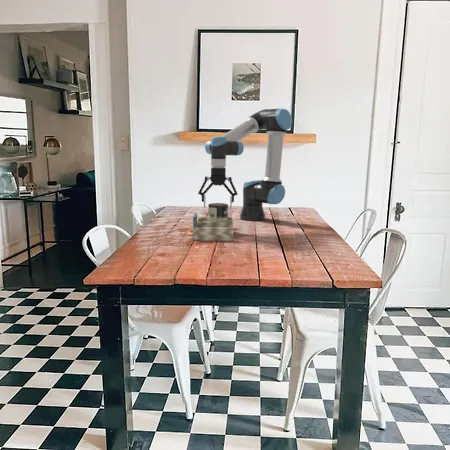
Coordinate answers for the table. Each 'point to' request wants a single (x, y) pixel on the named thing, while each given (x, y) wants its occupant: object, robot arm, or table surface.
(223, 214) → the coffee can
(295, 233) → the table surface
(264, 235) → the table surface
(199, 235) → the organizer
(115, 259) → the table surface
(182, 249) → the table surface
